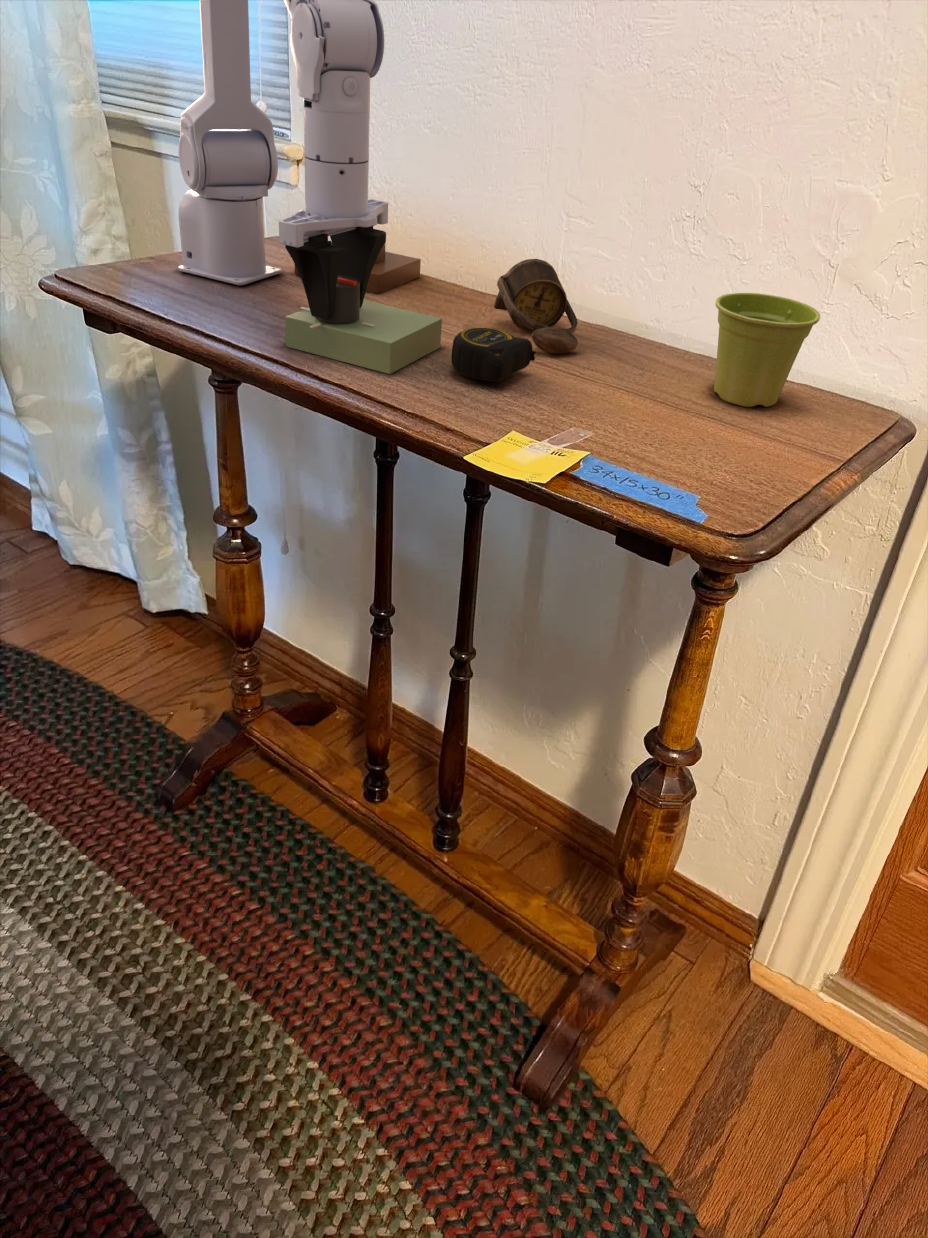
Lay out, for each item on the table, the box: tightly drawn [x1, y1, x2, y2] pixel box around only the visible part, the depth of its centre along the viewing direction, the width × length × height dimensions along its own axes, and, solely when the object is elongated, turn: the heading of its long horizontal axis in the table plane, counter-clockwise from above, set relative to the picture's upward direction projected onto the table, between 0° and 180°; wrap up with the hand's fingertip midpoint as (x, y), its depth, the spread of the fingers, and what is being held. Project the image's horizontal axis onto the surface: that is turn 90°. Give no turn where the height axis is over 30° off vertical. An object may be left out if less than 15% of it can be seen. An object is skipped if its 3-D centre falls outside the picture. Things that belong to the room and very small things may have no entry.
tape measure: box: [451, 327, 537, 382], centre depth 88 cm, size 7×7×4 cm
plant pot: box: [713, 292, 821, 408], centre depth 88 cm, size 9×9×9 cm
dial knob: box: [315, 275, 360, 324], centre depth 90 cm, size 4×4×4 cm
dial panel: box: [284, 299, 443, 375], centre depth 92 cm, size 12×11×3 cm
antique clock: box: [493, 258, 579, 354], centre depth 99 cm, size 7×13×10 cm
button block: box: [294, 241, 422, 294], centre depth 114 cm, size 12×10×4 cm
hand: (336, 311), depth 90 cm, fingers closed on dial knob, 4 cm apart
